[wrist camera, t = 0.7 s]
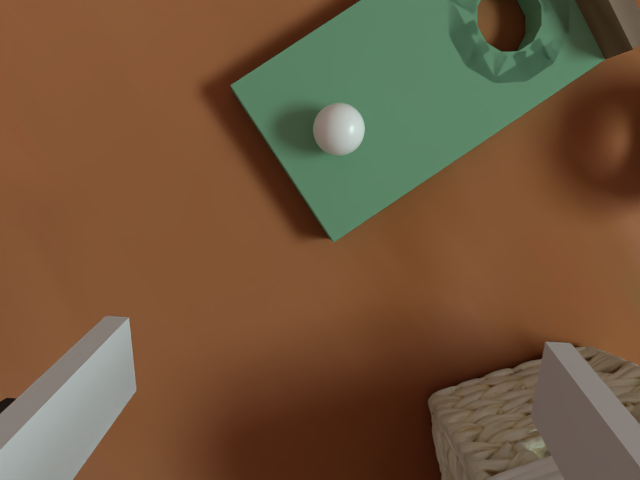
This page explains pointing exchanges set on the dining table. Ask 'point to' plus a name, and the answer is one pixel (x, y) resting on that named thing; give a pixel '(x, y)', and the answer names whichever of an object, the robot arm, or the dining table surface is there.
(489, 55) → the mat
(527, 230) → the dining table surface
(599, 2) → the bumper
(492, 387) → the storage basket
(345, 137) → the ball
